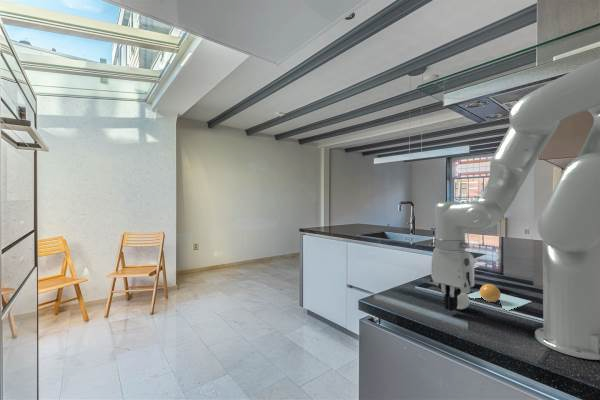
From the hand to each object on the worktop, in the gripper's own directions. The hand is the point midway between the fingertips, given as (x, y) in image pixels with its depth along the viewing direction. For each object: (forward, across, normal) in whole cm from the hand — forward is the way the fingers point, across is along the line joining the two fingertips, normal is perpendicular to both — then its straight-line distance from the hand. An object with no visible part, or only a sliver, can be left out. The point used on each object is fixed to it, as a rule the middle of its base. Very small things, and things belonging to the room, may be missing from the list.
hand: (450, 308), depth 82 cm
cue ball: (-1, +1, -6) cm, 6 cm away
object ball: (-1, 0, -20) cm, 20 cm away
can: (+2, +14, -29) cm, 32 cm away
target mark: (+2, 0, -23) cm, 23 cm away
